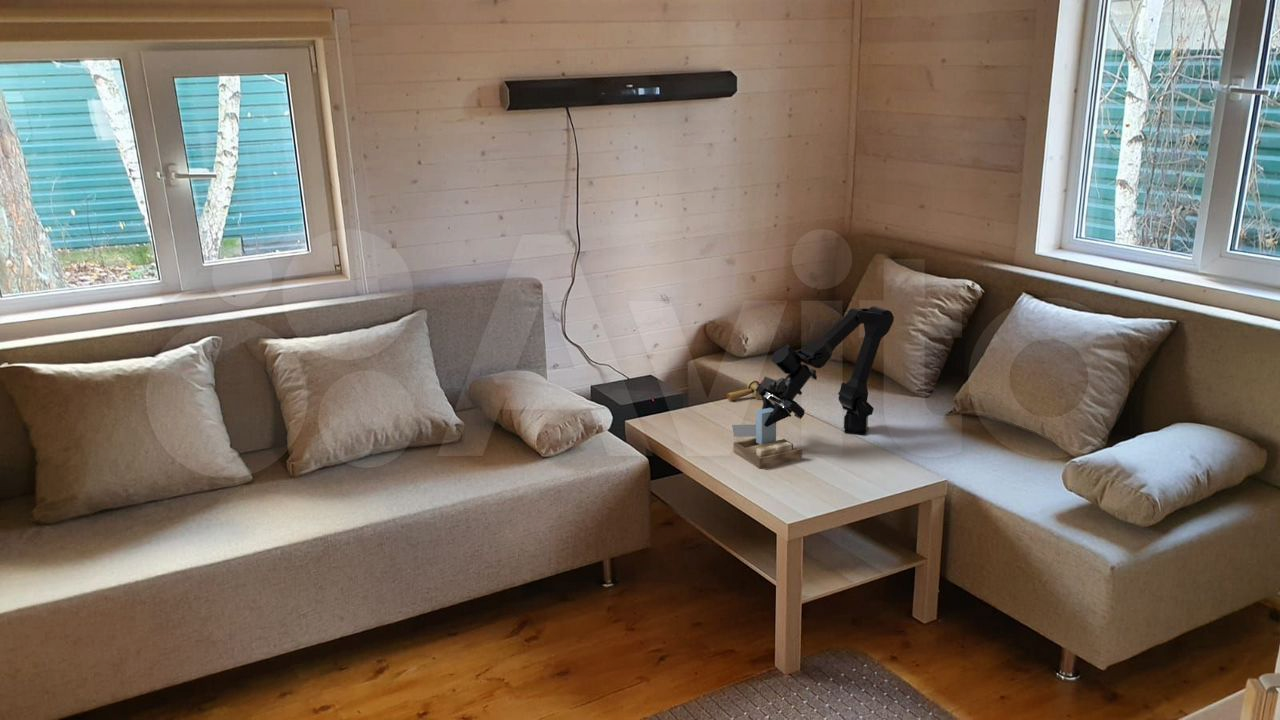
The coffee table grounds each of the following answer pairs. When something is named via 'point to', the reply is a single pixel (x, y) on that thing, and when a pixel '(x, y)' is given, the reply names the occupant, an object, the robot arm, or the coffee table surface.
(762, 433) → the light blue block
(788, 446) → the offcut
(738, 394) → the kendama
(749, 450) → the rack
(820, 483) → the coffee table surface
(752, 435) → the mat
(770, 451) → the offcut
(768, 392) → the robot arm
